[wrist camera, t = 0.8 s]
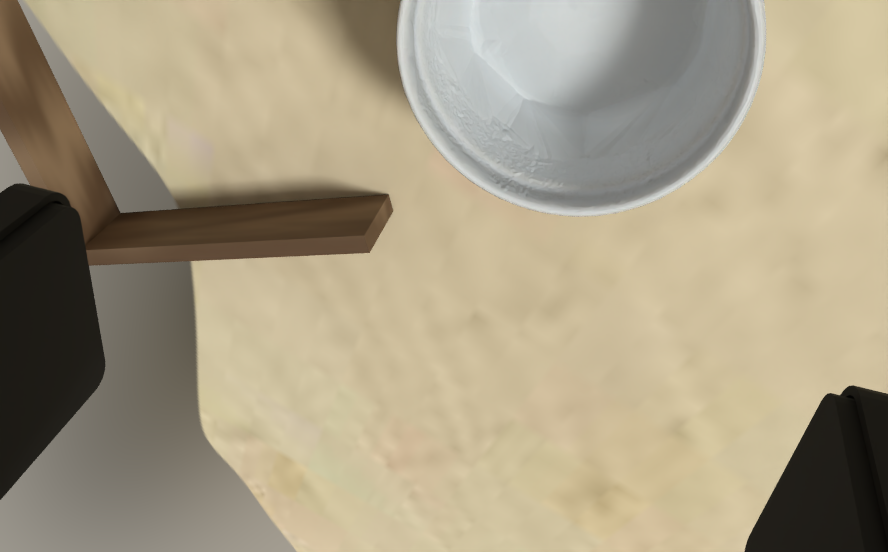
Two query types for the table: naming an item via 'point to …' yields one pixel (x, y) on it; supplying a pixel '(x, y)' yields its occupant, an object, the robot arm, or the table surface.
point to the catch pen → (165, 231)
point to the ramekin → (580, 93)
